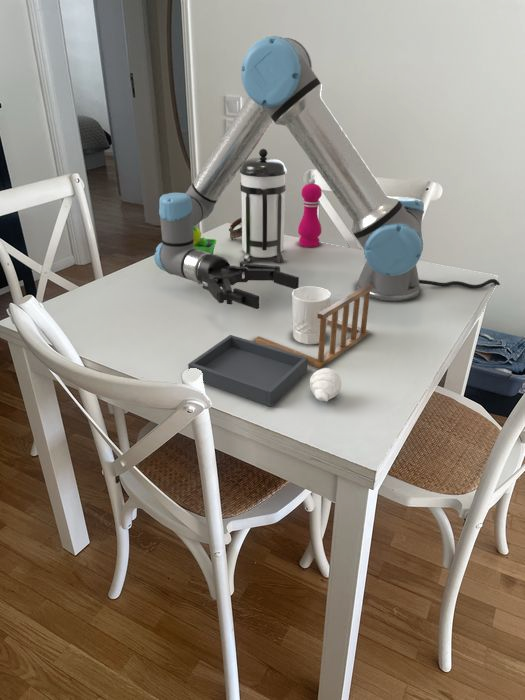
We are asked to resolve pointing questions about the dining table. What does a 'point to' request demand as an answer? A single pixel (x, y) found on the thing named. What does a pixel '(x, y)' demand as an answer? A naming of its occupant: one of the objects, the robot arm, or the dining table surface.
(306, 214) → the pepper mill
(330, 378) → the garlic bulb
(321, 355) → the drying rack
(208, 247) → the fruit basket
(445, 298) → the dining table surface
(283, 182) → the coffee press
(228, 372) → the dark grey tray
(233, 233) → the pottery mug
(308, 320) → the white cup
